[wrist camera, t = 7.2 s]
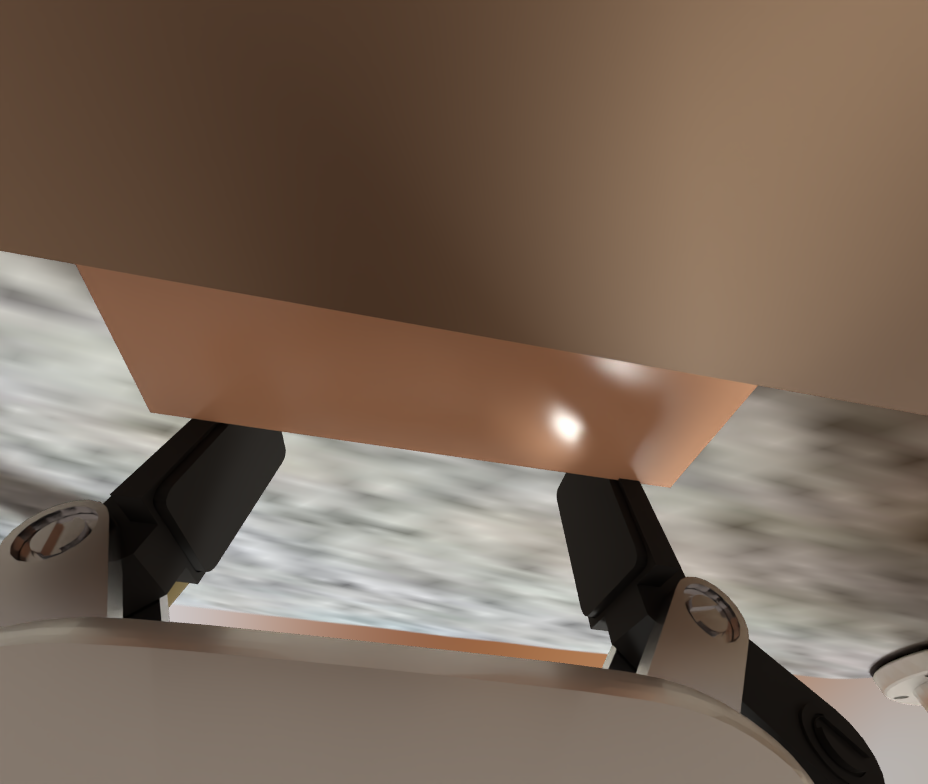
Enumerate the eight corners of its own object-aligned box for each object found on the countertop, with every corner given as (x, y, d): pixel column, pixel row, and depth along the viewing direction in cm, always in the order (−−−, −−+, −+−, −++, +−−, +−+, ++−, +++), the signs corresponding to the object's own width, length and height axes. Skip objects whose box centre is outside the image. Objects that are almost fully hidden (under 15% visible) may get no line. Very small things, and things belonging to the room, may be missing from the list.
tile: (912, -111, 5) (1472, -449, 2) (620, 400, 11) (670, 487, 8) (68, -368, 4) (-803, -1473, 1) (243, 338, 10) (150, 412, 7)
